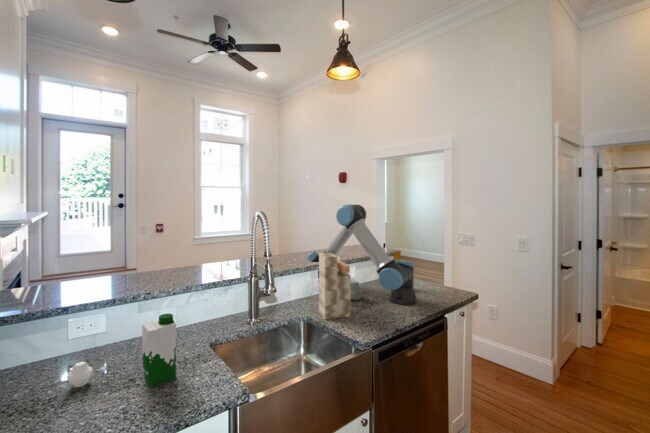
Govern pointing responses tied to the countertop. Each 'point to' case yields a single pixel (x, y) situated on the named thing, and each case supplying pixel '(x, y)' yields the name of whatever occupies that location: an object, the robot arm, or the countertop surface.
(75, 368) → the pale grey lumpy disc
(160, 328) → the milk carton
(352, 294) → the air freshener
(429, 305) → the countertop surface
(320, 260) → the stepped stand
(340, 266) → the orange bar
